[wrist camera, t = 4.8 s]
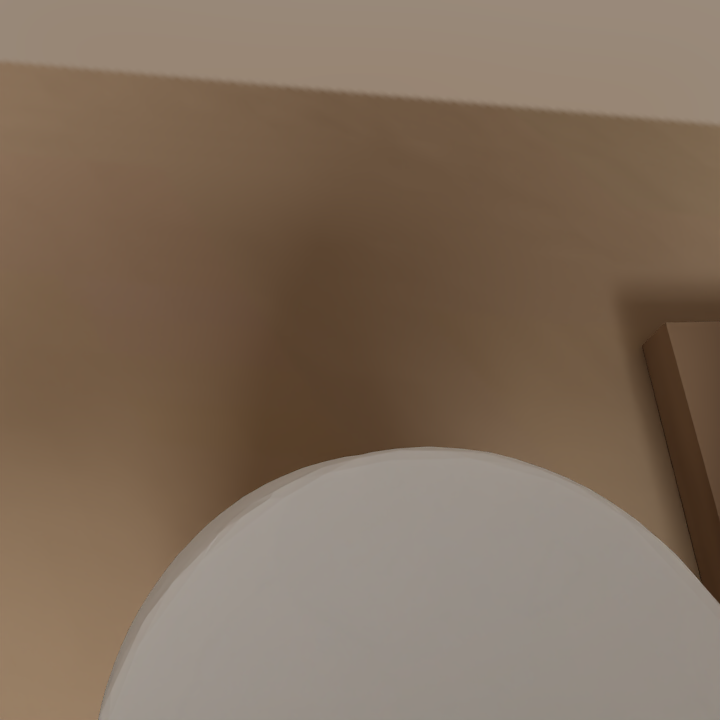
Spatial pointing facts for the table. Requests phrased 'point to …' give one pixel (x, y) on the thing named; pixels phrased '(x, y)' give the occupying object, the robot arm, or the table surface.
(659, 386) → the square brown tray
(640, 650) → the supplement bottle
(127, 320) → the table surface
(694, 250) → the table surface
